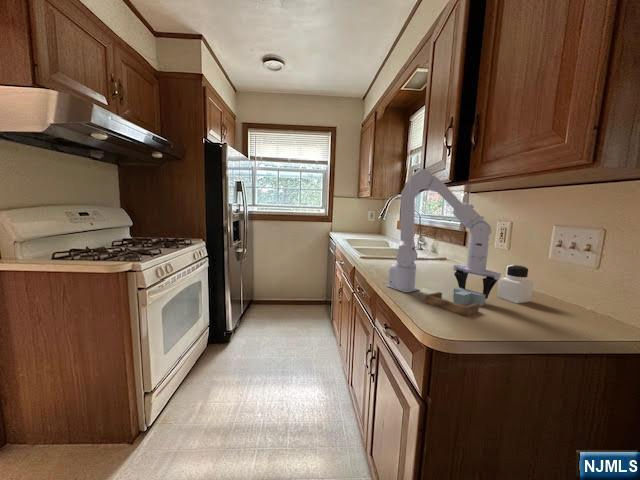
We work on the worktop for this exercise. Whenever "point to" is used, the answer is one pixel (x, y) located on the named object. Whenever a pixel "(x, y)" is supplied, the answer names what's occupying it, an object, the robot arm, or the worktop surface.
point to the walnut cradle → (451, 305)
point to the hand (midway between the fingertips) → (473, 295)
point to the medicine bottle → (515, 285)
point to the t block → (468, 297)
